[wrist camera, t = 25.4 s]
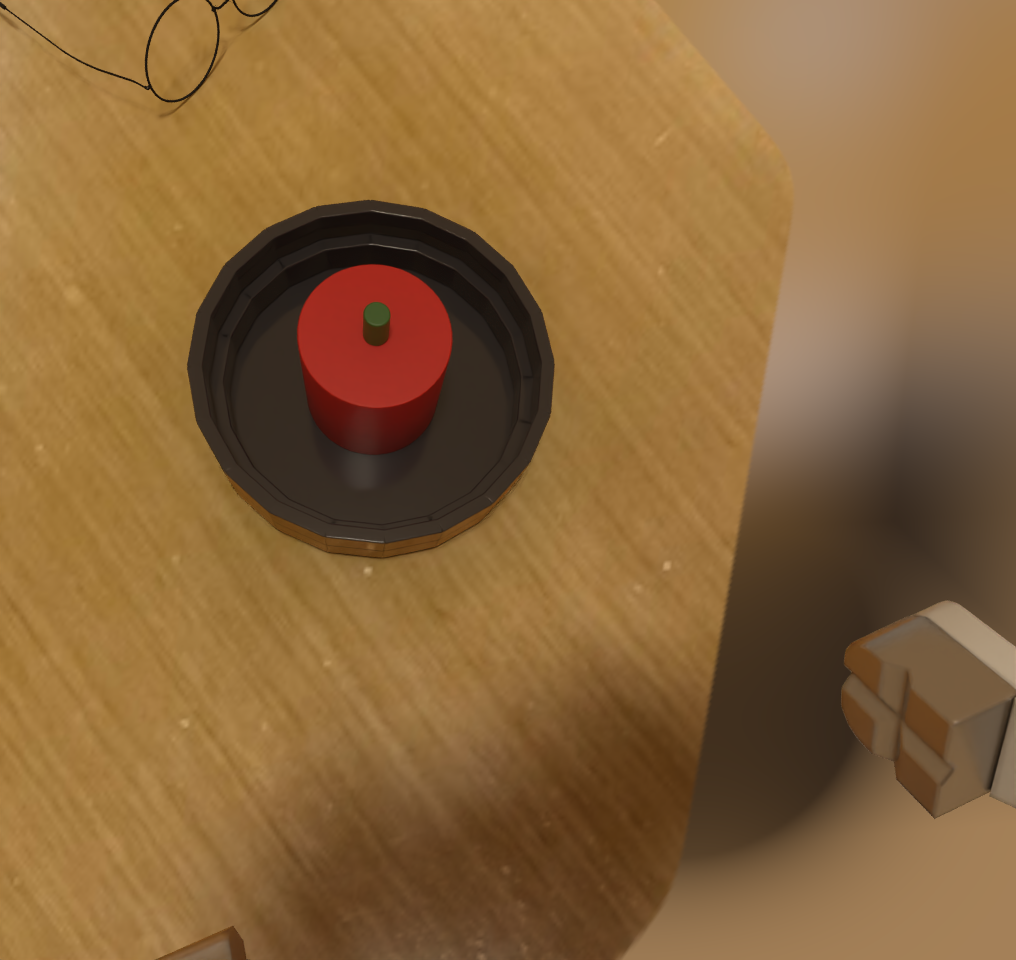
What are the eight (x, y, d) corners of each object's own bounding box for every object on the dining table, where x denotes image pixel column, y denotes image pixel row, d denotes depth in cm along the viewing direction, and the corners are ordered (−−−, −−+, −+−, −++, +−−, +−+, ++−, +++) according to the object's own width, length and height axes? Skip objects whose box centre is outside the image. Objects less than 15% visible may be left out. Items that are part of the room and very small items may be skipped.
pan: (596, 393, 44) (622, 361, 40) (384, 628, 40) (388, 620, 36) (366, 191, 45) (367, 137, 40) (133, 401, 40) (107, 366, 36)
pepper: (449, 442, 42) (474, 376, 33) (320, 466, 40) (310, 404, 32) (422, 322, 43) (439, 229, 34) (295, 342, 42) (279, 250, 33)
